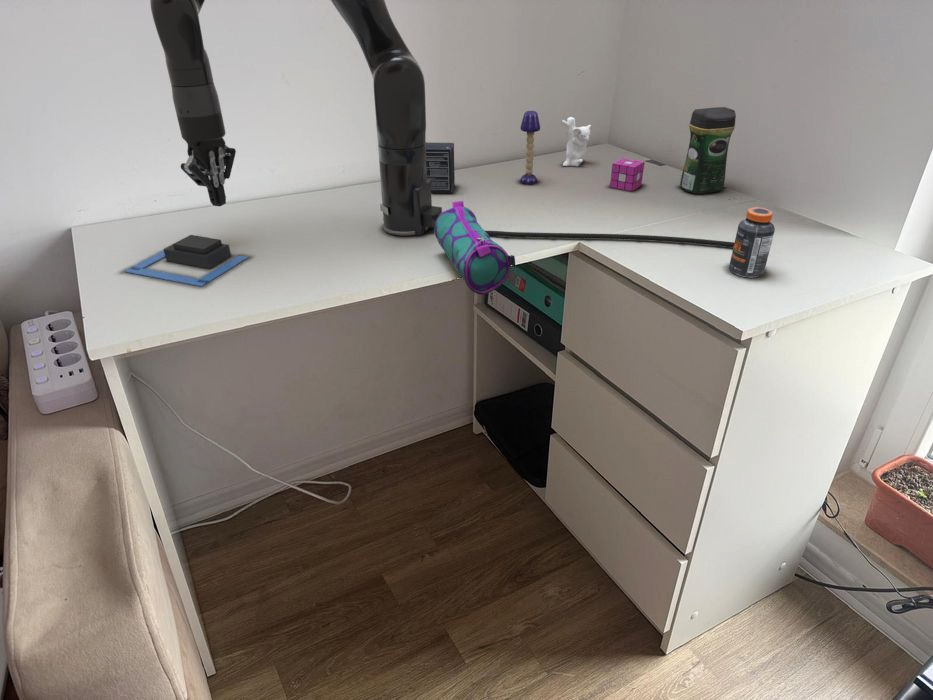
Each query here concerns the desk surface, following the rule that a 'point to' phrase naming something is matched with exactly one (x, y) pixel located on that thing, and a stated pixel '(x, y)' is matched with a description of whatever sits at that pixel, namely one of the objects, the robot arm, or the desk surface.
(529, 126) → the toy lamp
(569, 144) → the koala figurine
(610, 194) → the desk surface
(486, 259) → the pencil case
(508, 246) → the desk surface
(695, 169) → the coffee jar
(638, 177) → the puzzle toy
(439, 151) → the small box
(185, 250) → the dark raised-panel slab
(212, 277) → the frame
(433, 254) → the desk surface
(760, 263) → the pill bottle
